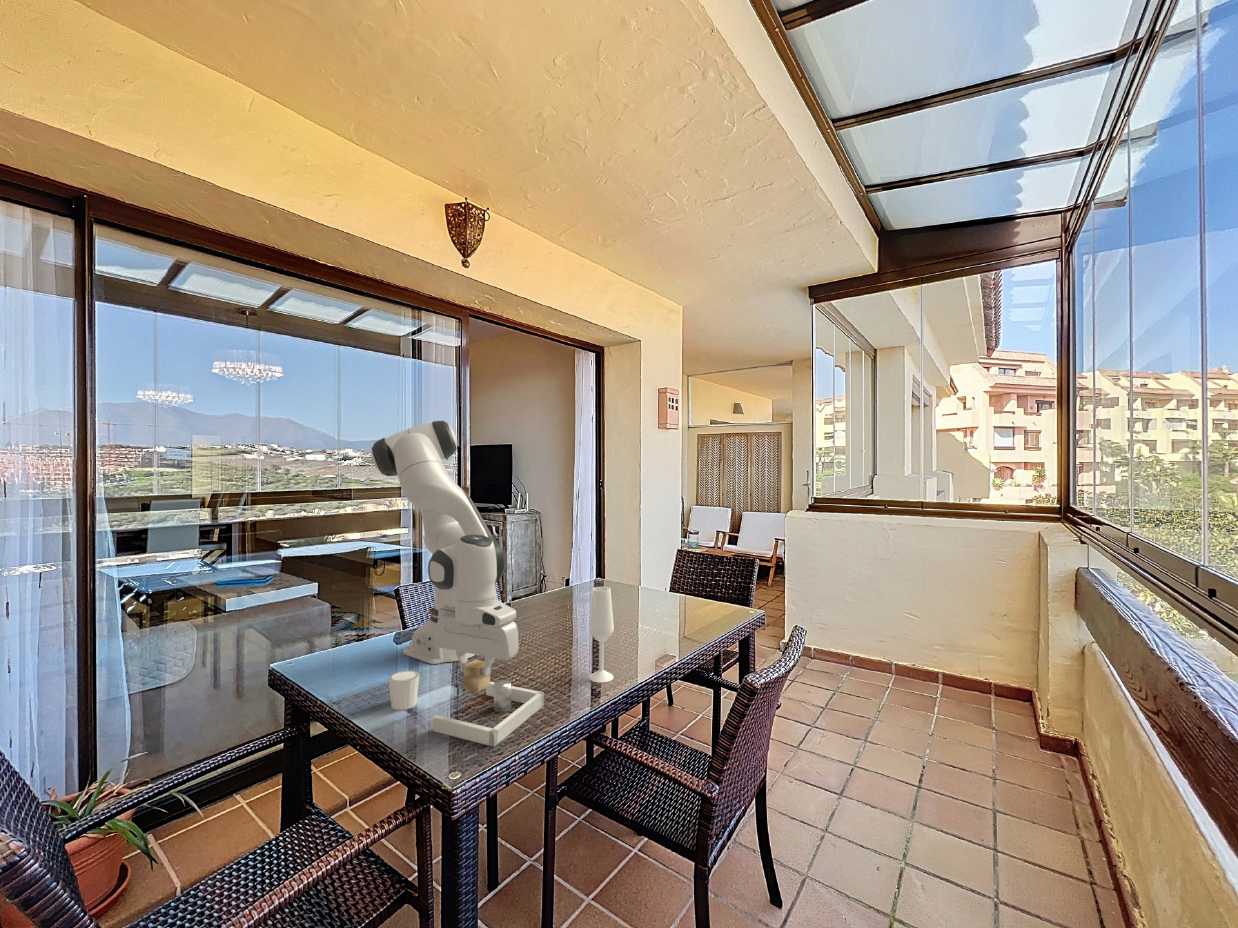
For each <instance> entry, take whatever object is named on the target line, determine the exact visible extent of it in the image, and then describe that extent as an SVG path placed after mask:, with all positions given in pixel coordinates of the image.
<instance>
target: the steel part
mask: <svg viewBox="0 0 1238 928" xmlns="http://www.w3.org/2000/svg"><path fill="white" fill-rule="evenodd" d="M511 686H512V681H511V680H508V679H499V680H497V681H495V683H494V697H493V711H494V712H495V713H498V714H499V713H501V714H502V713H507V712H509V711H511V709H512V701H511Z"/></svg>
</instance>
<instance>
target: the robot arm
mask: <svg viewBox="0 0 1238 928" xmlns="http://www.w3.org/2000/svg"><path fill="white" fill-rule="evenodd" d="M457 446H458V438H457V435H456V433H455V431H454V429H453V427H451V425H449V423H448V422H446V421H444V420H434V421H431V422H430V423H425V424H421V425H417V426H412V427H408V428H407V429H404V430H403V431H400V432H397V433H394V434H393V435H389V436H388V437H386V438H385V437H383V438H381V439H378V440H377V441H376V442H374V443H373V445H372V447H371V459H372V463H373V466H374V467H375V468H376V469H377V470H378V471H379V472H380V474H381V475H384V476H385V477H395V476H396V477H397V478H398V480H399V481H398V482H399V484H400V488H401V490H402V492H403V494H404V497H406V499H407V501H408V502H410V503H411V504H412V505H414V506H417V507H418V509H419V510H418V511H419V512H420V515H421V519H422V523H423V529H424V537H423V544H424V546H425V548H426V549H427V550H428V551H429V553H431V554H432V555H431V557H430V558H429V561H428V564H427V565H428V566H427V573H428V578H429V581H430V582H431V584H433V586H434V606H433V607H432V608H430V609H428V610H426V611H427V613H426V615H429V614H430V616H429V619H428V620H427V621H426V622H425V623H423V624H422V625H421V626H420V627H418V628H417V629H416V630H415V631H414V632H413V634H412V637H411V644H409V645H408V646H406V647H405V648H404V649H403V651H402V654H403V655H404V656H407V657H409V658H414V659H416V660H418V661H421V662H425V663H428V664H430V665H436V664H437V665H438V664H443V663H449V662H450V663H451V662H459V663H460V666H459V667H460V668H459V669H460V671H461V672H464V665H466V664H468V663H470V662H471V661H470V660H468V659H469V658H472V657H474V656H475V655H476V656H481V657H483V658H484V660H483V661H485V662H486V664H485V665H484V666H482V667H480V671H481V672H480V674H481V675H484V676H488V675H489V674H490V675H491V672H492V665H493V664H494V662H495V660H496V659H497V660H502V661H509V660H511V659H512V658H515V657H516V655H517V654H518V653H519V630H518V625H517V623H516V621H514V620H515V619H516V618H517V610H515V608H514V607H510V606H509V605H507V604H506V603H503V602H502V601H500V600H499V599H497V597H498V596H497V595H498V592H497V591H496V583H497V582H499V580H500V579H501V578H502V576H503V575H504V573H505V571H506V570H507V569H506V568H507V565H508V558H507V555H506V552H505V551H504V549H503V547H502V546H501V544H499V542H498V541H497V540H496V538H494V536H493V534H492V533H491V531H490V529H489V528H488V527H489V526H488V525H487V524H486V522H485V520H484V519H483V517H482V516H481V513H480V512H479V509H478V508H477V507H476V505H475V503H474V501H473V500H472V498H471V496H470V495H469V494H468V492H467V491H466V490H465V489H464V488H462V487H460V486H459V485H458V484H457V483H456V482H455V481H454V480H453V478H451V476H450V475H449V472H448V470H447V467H446V465H445V464H444V462H443V459H446V461H448V460H449V459H450V457H452V456H453V455H454V454H455V452H456V451H457V450H458V447H457Z"/></svg>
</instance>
